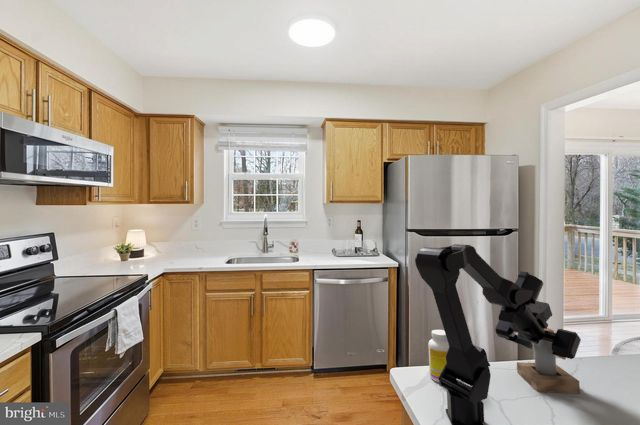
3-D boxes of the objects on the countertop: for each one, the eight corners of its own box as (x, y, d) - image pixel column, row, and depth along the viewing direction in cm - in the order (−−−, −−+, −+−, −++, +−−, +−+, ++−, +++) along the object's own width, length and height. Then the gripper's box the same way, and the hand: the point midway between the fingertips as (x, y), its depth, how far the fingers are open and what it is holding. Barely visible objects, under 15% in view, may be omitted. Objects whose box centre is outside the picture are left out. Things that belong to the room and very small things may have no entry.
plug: (542, 386, 81) (538, 332, 82) (532, 377, 86) (529, 326, 86) (561, 387, 80) (558, 332, 81) (550, 378, 85) (547, 327, 86)
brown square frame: (536, 391, 79) (536, 379, 79) (517, 372, 89) (516, 362, 89) (579, 393, 77) (579, 381, 78) (555, 374, 87) (554, 363, 88)
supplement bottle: (457, 385, 83) (455, 336, 83) (431, 383, 84) (429, 335, 85) (452, 373, 89) (450, 328, 90) (428, 372, 91) (426, 327, 91)
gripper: (574, 299, 74) (599, 337, 79) (498, 287, 91) (522, 319, 95) (559, 339, 70) (586, 377, 75) (483, 318, 87) (508, 350, 91)
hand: (547, 352), depth 84 cm, fingers open, 8 cm apart
